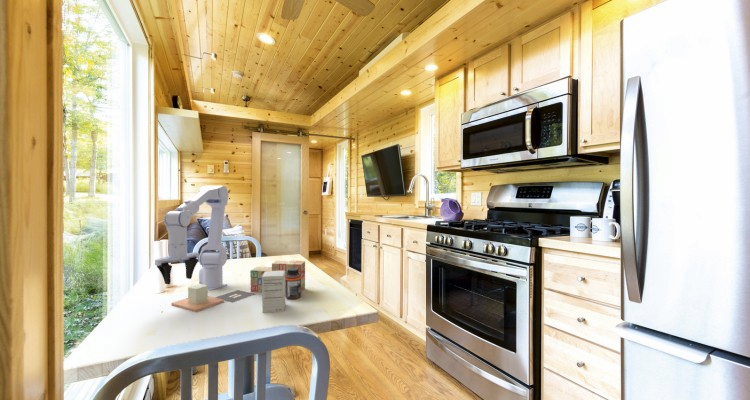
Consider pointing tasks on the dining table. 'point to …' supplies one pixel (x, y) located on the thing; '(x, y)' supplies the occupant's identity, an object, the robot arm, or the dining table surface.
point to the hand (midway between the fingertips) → (178, 281)
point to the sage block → (197, 294)
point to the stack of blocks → (276, 266)
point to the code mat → (235, 296)
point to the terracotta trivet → (197, 307)
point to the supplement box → (273, 291)
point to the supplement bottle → (293, 284)
